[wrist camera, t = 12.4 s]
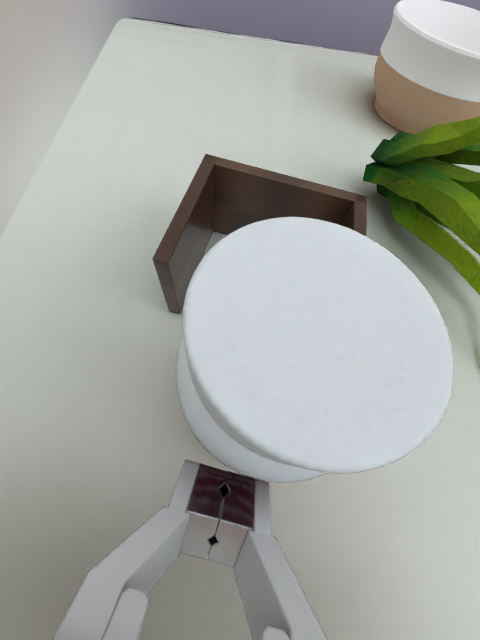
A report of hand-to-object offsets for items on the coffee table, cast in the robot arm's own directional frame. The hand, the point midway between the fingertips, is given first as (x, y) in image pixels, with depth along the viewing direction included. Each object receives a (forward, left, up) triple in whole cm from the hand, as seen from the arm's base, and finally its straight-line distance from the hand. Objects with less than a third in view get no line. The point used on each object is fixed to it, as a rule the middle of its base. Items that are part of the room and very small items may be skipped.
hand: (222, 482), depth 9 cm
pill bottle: (+1, +4, -5) cm, 6 cm away
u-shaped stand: (0, +13, -5) cm, 14 cm away
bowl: (+15, +45, -5) cm, 48 cm away
